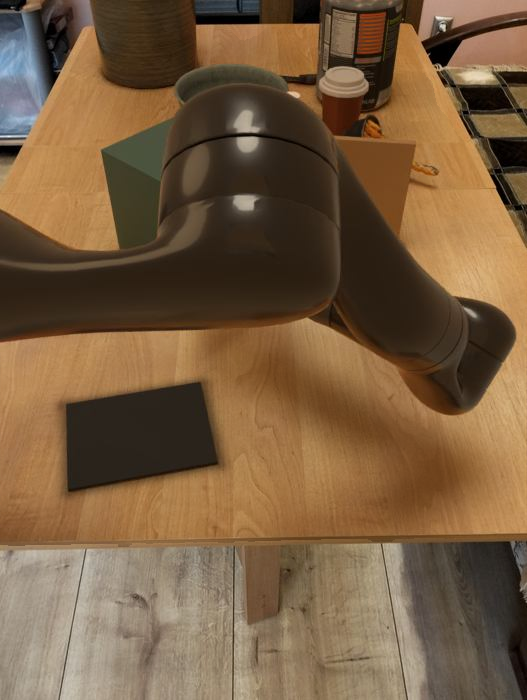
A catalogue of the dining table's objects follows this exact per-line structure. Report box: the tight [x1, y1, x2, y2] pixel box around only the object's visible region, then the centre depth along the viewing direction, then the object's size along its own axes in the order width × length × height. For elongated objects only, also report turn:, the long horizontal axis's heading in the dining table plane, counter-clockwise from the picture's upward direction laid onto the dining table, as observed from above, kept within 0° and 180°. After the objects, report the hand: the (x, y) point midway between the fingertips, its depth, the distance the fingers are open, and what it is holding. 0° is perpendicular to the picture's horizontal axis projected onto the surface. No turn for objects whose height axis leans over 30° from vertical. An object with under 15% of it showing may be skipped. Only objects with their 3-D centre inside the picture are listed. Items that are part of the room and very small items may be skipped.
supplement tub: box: [315, 0, 404, 112], centre depth 127 cm, size 16×16×26 cm
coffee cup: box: [319, 66, 369, 136], centre depth 119 cm, size 9×9×12 cm
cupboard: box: [100, 116, 174, 250], centre depth 93 cm, size 13×19×17 cm
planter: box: [88, 0, 199, 89], centre depth 139 cm, size 22×22×20 cm
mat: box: [65, 381, 219, 493], centre depth 73 cm, size 16×12×1 cm
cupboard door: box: [334, 136, 417, 239], centre depth 95 cm, size 6×19×17 cm, turn 83°
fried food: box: [342, 113, 440, 177], centre depth 112 cm, size 9×11×18 cm
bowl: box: [173, 63, 290, 109], centre depth 120 cm, size 21×21×10 cm
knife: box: [278, 73, 317, 85], centre depth 142 cm, size 28×2×5 cm
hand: (198, 217), depth 73 cm, fingers closed on pill bottle, 5 cm apart
